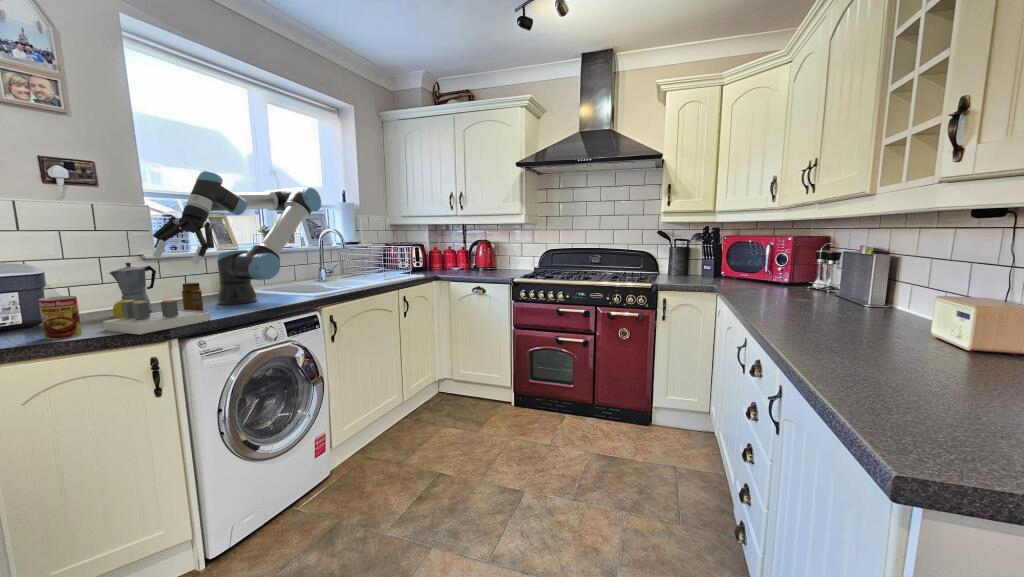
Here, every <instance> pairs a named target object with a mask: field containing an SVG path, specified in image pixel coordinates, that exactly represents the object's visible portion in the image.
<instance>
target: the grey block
mask: <svg viewBox="0 0 1024 577" xmlns="http://www.w3.org/2000/svg"><path fill="white" fill-rule="evenodd" d="M161 300H162V299H161ZM177 301H178V300H176V299H163V300H162V301H160V306H161V312H162V315H163V317H173V316H178V309H179V308H178V302H177Z"/></svg>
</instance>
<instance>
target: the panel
mask: <svg viewBox="0 0 1024 577" xmlns="http://www.w3.org/2000/svg"><path fill="white" fill-rule="evenodd" d="M204 311H205V310H203V311H193V310H184V309H183V308H182V309H180V308H178V316H173V317H163V315H162V311H158V312H152V313H151V312H150V317H149V318H143V319H134V317H130V318H120V319H117V318H114V319H108V320H103V328H104V329H103V330H104V331H108V332H117V333H125V334H131V335H137V336H139V335H143V334H148V333H155V332H158V331H159V332H160V331H163V330H168V329H169V330H170V329H173V328H180V327H185V326H189V325H194V324H198V323H199V322H200V323H204V322H203V321H205V322H209V321H208V320H210V321H212V314H211V311H205V312H204ZM200 323H199V324H200Z"/></svg>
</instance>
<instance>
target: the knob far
mask: <svg viewBox="0 0 1024 577" xmlns="http://www.w3.org/2000/svg"><path fill="white" fill-rule="evenodd" d="M133 302H136V301H135V300H125V301H122V302H121V308H122V315H123V317H125V318H130V317H134V316H133V309H132V303H133Z"/></svg>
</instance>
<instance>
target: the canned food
mask: <svg viewBox="0 0 1024 577" xmlns="http://www.w3.org/2000/svg"><path fill="white" fill-rule="evenodd" d="M37 301H38V308H39V313H40V318H41V324H42V329H43V335H44V336H43V337H44V340H47V339H53V340H58V339H57V338H64V339H69V338H68V337H70V338H75V337H79V336H81V334H83V331H82V324H81V317H80V311H79V305H78V298H77V296H76V295H62V296H61V295H60V296H48V297H41V298H39V299H38V300H37ZM78 335H79V336H78ZM74 336H75V337H74Z"/></svg>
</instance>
